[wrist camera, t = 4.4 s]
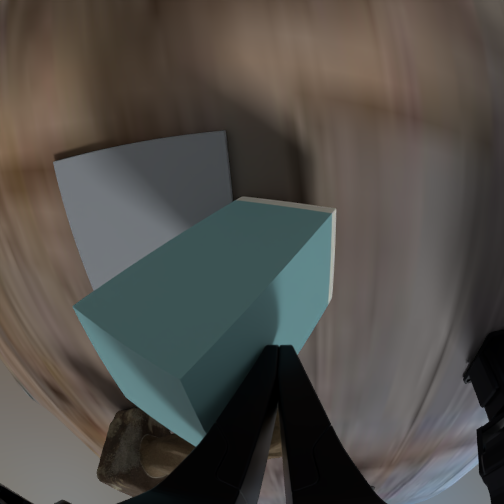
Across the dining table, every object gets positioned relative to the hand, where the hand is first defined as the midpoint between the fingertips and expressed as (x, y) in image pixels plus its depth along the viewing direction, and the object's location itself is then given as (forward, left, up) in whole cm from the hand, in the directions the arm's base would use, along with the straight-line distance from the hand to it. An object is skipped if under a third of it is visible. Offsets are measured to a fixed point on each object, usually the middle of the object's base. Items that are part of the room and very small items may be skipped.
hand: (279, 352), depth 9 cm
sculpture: (+8, +21, -9) cm, 24 cm away
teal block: (0, 0, -7) cm, 7 cm away
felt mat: (+8, 0, -8) cm, 12 cm away
